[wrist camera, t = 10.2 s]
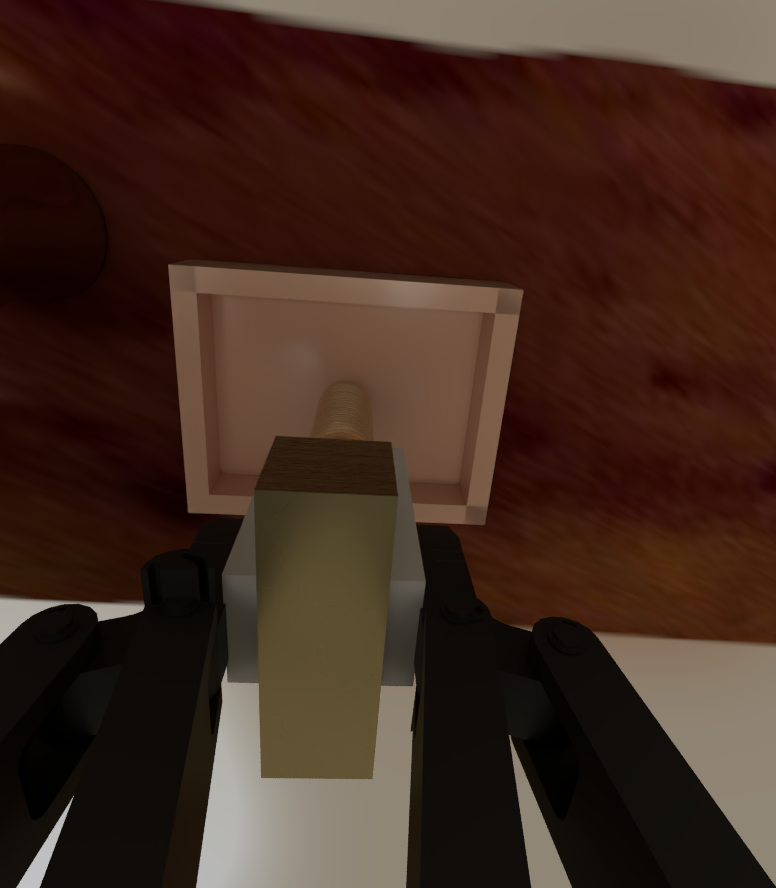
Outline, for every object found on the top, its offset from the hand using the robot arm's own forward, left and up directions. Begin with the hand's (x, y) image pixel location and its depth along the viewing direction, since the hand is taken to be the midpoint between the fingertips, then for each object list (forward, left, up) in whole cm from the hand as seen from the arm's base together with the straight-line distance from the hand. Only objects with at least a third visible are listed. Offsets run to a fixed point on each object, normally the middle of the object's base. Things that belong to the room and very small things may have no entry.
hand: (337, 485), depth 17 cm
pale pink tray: (0, 0, -10) cm, 10 cm away
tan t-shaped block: (0, 0, -7) cm, 7 cm away
